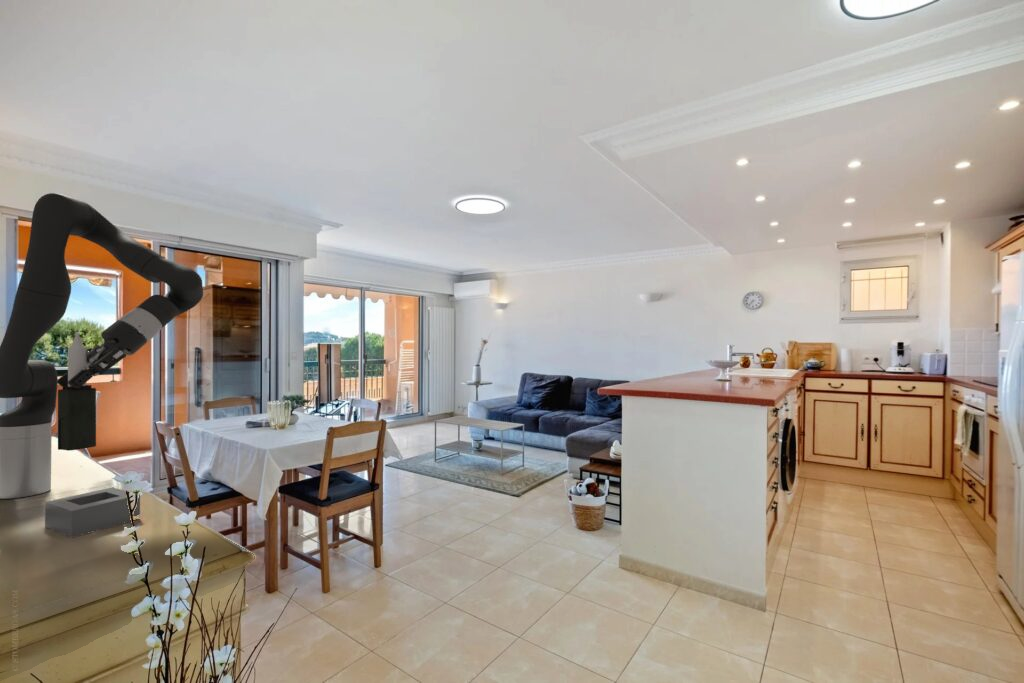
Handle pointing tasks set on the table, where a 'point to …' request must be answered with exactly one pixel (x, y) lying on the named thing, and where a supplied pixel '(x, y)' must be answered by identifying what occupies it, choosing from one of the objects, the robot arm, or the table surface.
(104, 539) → the table surface
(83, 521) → the holder
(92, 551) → the table surface
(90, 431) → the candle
